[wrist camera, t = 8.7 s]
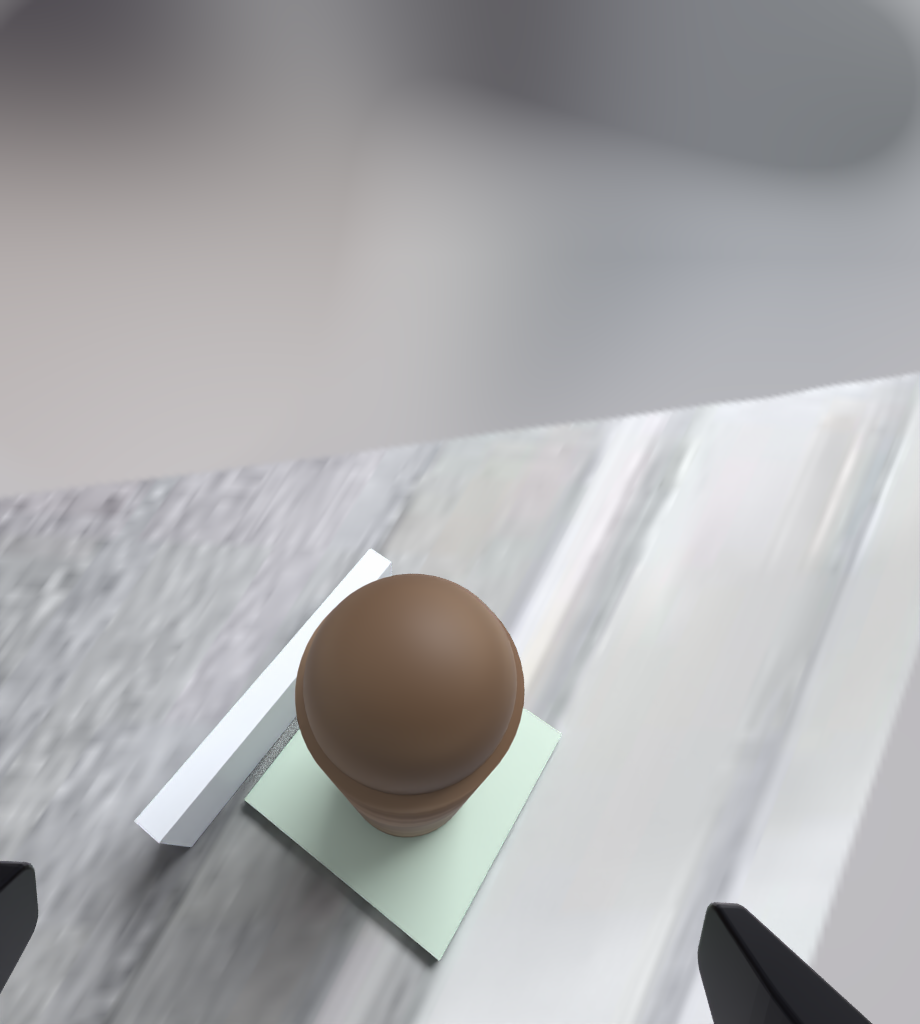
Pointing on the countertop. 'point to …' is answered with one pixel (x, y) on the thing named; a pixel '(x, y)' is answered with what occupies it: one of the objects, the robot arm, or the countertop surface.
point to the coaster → (406, 860)
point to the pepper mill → (409, 699)
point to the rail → (243, 731)
